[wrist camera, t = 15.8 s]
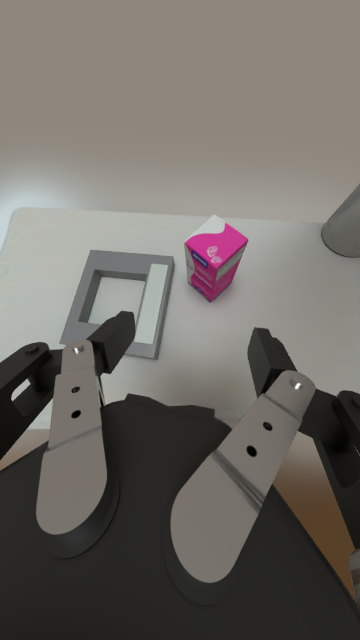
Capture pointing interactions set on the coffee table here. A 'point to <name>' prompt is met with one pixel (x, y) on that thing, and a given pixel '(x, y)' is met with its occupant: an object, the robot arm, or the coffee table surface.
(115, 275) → the divided tray
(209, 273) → the supplement box
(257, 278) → the coffee table surface
